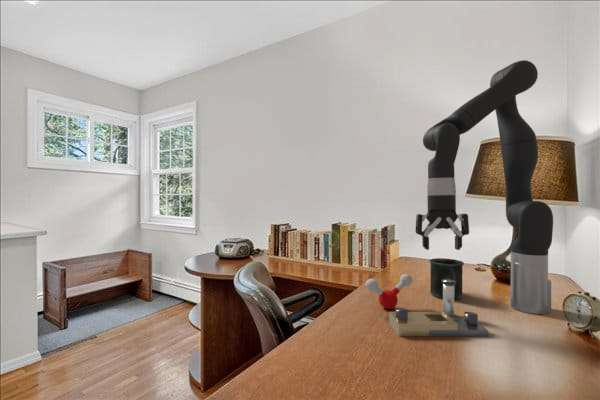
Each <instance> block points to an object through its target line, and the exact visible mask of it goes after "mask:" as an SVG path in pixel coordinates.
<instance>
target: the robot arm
mask: <svg viewBox="0 0 600 400" xmlns="http://www.w3.org/2000/svg"><path fill="white" fill-rule="evenodd" d="M538 75H539V73H538V69H537V67H536V65H535V64H534V63H533V62H532V61H529V60H526V59H525V60H523V59H522V60H518V61H515V62H513V63H510V64H508V65H507V66H505V67H503V68H502V69H500V70H498V71H496V72H495V73H494V74H493V75H492V76H491V79H490V84H489V87H488V88H486V89H485V90H484V91H482V92H481V93H478V94H477V95H476V96H473V98H471V99H469V100H468V101H466V102H465V103H464V104H463V105H461V106H460V107H458V108H457V109H456V110H455V111H453V113H451V114H450V115H449V116H447V117H446V118H444V119H443V120H441V121H439V122H437V123H436V124H435V125H433V126H432V127H430V128H428V129H427V130H426V132H424V135H423V137H422V144H423V146H424V147H425V148H426V149H427V150H428V151H431V152H435V153H434V156H433V158H431V159H430V160H429V161H428V165H427V186H426V187H427V189H426V190H427V195H426V196H427V199H426V200H427V201H426V202H427V212H426V214H421V213H417V214H416V216H415V234H417V235H420V236H421V237H422V240H421V241H422V243H421V244H422V248H424V250H426V251H429V250H430V237H429V235H430V234H431V233H432V232H433V231H434V229H436V230H437V229H438V230H441V229H445V230H448V229H450V230H451V232H452V233H453V234H454V249H455V250H456V251H461V248H462V247H463V237H464V236H465V235H469V234H470V225H469V223H470V222H469V215H468V214H467V213H463V212H462V213H461V214H460V213H458V214H457V211H456V210H457V202H456V201H457V196H456V193H457V189H456V181H455V180H456V179H455V162H456V160H457V155H458V151H459V148H460V142H461V135H463V134H465V133H467V132H469V131H470V130H472V129H473V128H474V127H475V126H477V125H478V124H479V123H480V122H482V121H483V120H484V119H485V118H486V117H487V116H489V115H490V114H492V113H493V112H494V111H495V114H496V115H495V116H496V120H497V128H498V133H499V134H498V135H499V143H500V144H499V145H500V152H501V159H502V167H503V175H504V182H505V183H504V185H505V216H506V220H507V222H508V223H509V225H510V226H511V227H513V228H514V229H517V230H518V235H517V236H518V237H517V239H516V240H515V241H513V242H511V245H510V296H509V297H510V302H509V304H510V307H511V308H512V309H514V310H516V311H521V312H523V313H528V314H535V315H536V314H537V315H543V314H547V313H552V280H551V279H549V249H550V248H551V246H552V242H553V233H554V214H553V212H552V211H553V210H552V208H551V207H550V206H549V205H548V204H547V203H545V202H543V201H539V200H533V195H532V188H531V186H532V179H533V175H534V173H535V171H536V170H535V169H536V167H537V164H538V160H539V151H538V150H539V149H538V148H539V147H538V143H537V142H538V141H537V136H536V133H535V131H534V130H533V128H532V127H531V125H529V123H527V121H526V120H525V119H524V118H523V117H522V116H521V113H520V112H519V109H518V104H517V95H519V94H522V93H524V92H526V91H528V90H529V89H531V88H532V87H533V86H534V85H535V84H536V82H537V79H538ZM457 219H458V221H459V222H460V227H461V229H460V228H459V227H458V226H457V224H456V221H457ZM425 220H427V221H428V224H427V225H426V226H425V228H424V229H423V223H424V222H425Z"/></svg>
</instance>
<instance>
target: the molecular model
mask: <svg viewBox="0 0 600 400" xmlns="http://www.w3.org/2000/svg"><path fill="white" fill-rule="evenodd" d="M412 283H413V278H412V277H411V275H410V274H407V273H404V274H402V275H401V276H400V277H399V282H398V284H396V286H395V287H394V288H393V289H392V290H390V289H384V290H383V289H381V288H380V286H379V282H378V281H377V280H376V279H375V278H369V279H367V280H366V281H365V288H366V290H367V291H369V292H372V293H373V292H374V293H375V294H377V295H378V303H379V305H381V306H382V308H383V309H387V310H391V309H394V308H395V307H396V306H397V305H398V301H399V299H398V296H397V295H398V294H399V293H400V292H401V290H403V289H404V287H405V286H406V287H408V286H411V285H412Z"/></svg>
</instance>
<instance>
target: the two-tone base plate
mask: <svg viewBox="0 0 600 400" xmlns="http://www.w3.org/2000/svg"><path fill="white" fill-rule="evenodd" d="M388 317H389V318H388V320H389V321H388V323H389V324H390V326H391V328H393V330H394V332H395V333H396V334H397V336H398V337H400V336H401V337H488V336H489V330H488V329H487V328H486V327H485V326H483V325H481V324H480V323H479V322H478V321H479V320H478V318H479V316H478V314H477V313H476V312H472V311H465V312H464V317H448V316H447V315H446V314H445V313H443V311H408V309H407V308H404V307H396V308H395V311H389V313H388Z"/></svg>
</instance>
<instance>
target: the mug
mask: <svg viewBox="0 0 600 400" xmlns="http://www.w3.org/2000/svg"><path fill="white" fill-rule="evenodd" d="M429 263H430V281H429V282H430V285H429V286H430V287H429V288H430V289H429V290H430V291H429V292H430V294H431V295H432V296H433V297H435V298H438V299H442V300H443V283H442V279H452V280H455V281H456V284H455V285H454V300H459V299H461V298H462V297H463V266H464V264H465V263H464V261H461V260H458V259H453V258H452V259H451V258H441V257H440V258H431V259H429Z"/></svg>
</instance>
